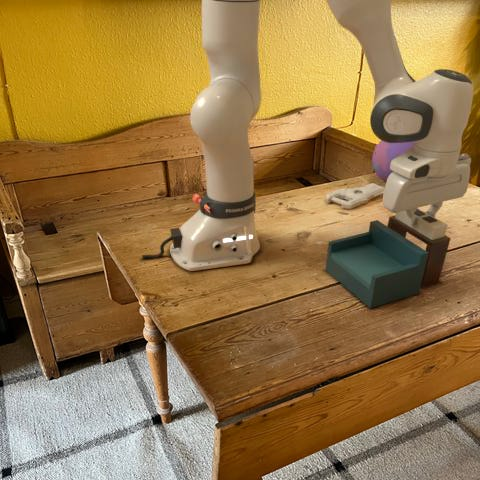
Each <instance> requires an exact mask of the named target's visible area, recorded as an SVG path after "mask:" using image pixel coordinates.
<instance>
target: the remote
mask: <svg viewBox="0 0 480 480" xmlns="http://www.w3.org/2000/svg"><path fill="white" fill-rule="evenodd" d="M425 212H426V211H423V210H422V209H420V208H417V210H416V212H414V215H415V217H417V218H418V220H417V224H416V225H413V226H409V225H408V226H409V227H411V228H413V229H414V230H416V231H418V232H419V233H421V234H423V235H424V236H426V237H428V238H429V239H431V240H434V239H438V238H442V237H445V235H446V233H447V230H448V224H447V223H445V222H444V221H441V220H440V219H438V218H436V217H435V218H434V217H433V216H431V215H429V214H427V213H425ZM394 216H395V218H396V219H398V220H399V221H401V222H403V223H404V224H406V225H407V223H406V221H407V215H406V212H405V211H402V212H398V213H395V215H394Z"/></svg>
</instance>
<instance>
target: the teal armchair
mask: <svg viewBox="0 0 480 480" xmlns="http://www.w3.org/2000/svg"><path fill="white" fill-rule="evenodd" d="M387 226H388V225H386V224H384V223H383V222H381V221H380V220H378V219H376V220H372V221H370V222H369V227H368V231H365V232H361V233H358V234H353V235H350V236H346V237H343V238H338V239H334V240H330V241H328V245H327V253H326V262H325V272H327V273H328V274H329V275H331V276H332V277H333V278H334V279H335V280H336V281H338V282H339V283H340V284H341V285H342V286H344V288H346V289H347V290H348V291H349V292H351V294H353V295H354V296H355V297H356V298H357V299H359V300H360V301H361V302H363V304H365V305H366V306H367V307H368V308H370V309H373V308H376V307H378V306H382V305H386V304H388V303H392V302H394V301H398V300H401V299H404V298H408V297H411V296H414V295H417V294H419V293H420V290H421V288H422V287H421V283H422V279H423V275H424V271H425V267H426V263H427V259H428V255H429V252H427V251H425V250H426V249H424V248H422V247H421V246H419V245H418V244H416V243H414V242H413V241H411V240H410V239H408V238H407V237H406V238H405V237H403V236H402V235H400V234H398V233H397V232H395V231H394V230H392V229H391V228H389V227H387Z"/></svg>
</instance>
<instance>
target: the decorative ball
mask: <svg viewBox="0 0 480 480" xmlns="http://www.w3.org/2000/svg"><path fill="white" fill-rule="evenodd" d="M414 143H415V141H413V142H404V143H387V142H384V141H382V140H380V141H379V142H378V144H375V146H374V150H373V153H372V156H371V159H372V160H371V162H372V163H371V164H372V169H373V171H374V173H375V174H376V175H377V177H378V178H379V179H381V180H382V181H383V182H385V183H386V182H387V179H388V177H389V175H390V174H391V173H392V172H394V171H392V170H391V169H390V164H391V161H392V160H393V159H395V158H397V157H398V156H400V155H402V154H404V153H405V152H407V151H408V150H409V149H411V148H413V147H414Z"/></svg>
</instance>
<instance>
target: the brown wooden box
mask: <svg viewBox="0 0 480 480" xmlns="http://www.w3.org/2000/svg"><path fill="white" fill-rule="evenodd" d="M386 226H387V227H389V228H391V229H392V230H394V231H395V232H397V233H398V234H400V235H402V236H403V237H405V238H406V239H407V233H408V234H409V235H411V236H412V237H414V238H416V239H417V240H419V241H421V242H422V243H424V244H426V246H425V249H424V250H425V251H427V252H429V255H428V259H427V263H426V267H425V271H424V275H423V279H422V283H421V287H420V288H423V287H426V286H430V285H434V284H437V283H439V282H440V279H441V275H442V271H443V267H444V263H445V260H446V256H447V253H448V250H449V246H450V243H451V239H452V238H451V237H450V236H447V235H446V234H445V237H442V238H438V239H434V240H431V239H429V238H428V237H426V236H424V235H423V234H421V233H419V232H418V231H416V230H414V229H413V228H411V227H409V226H408V225H406V224H404V223H403V222H401V221H399V220H398V219H396V218H395V215H392V216H388V222H387V225H386Z"/></svg>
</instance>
